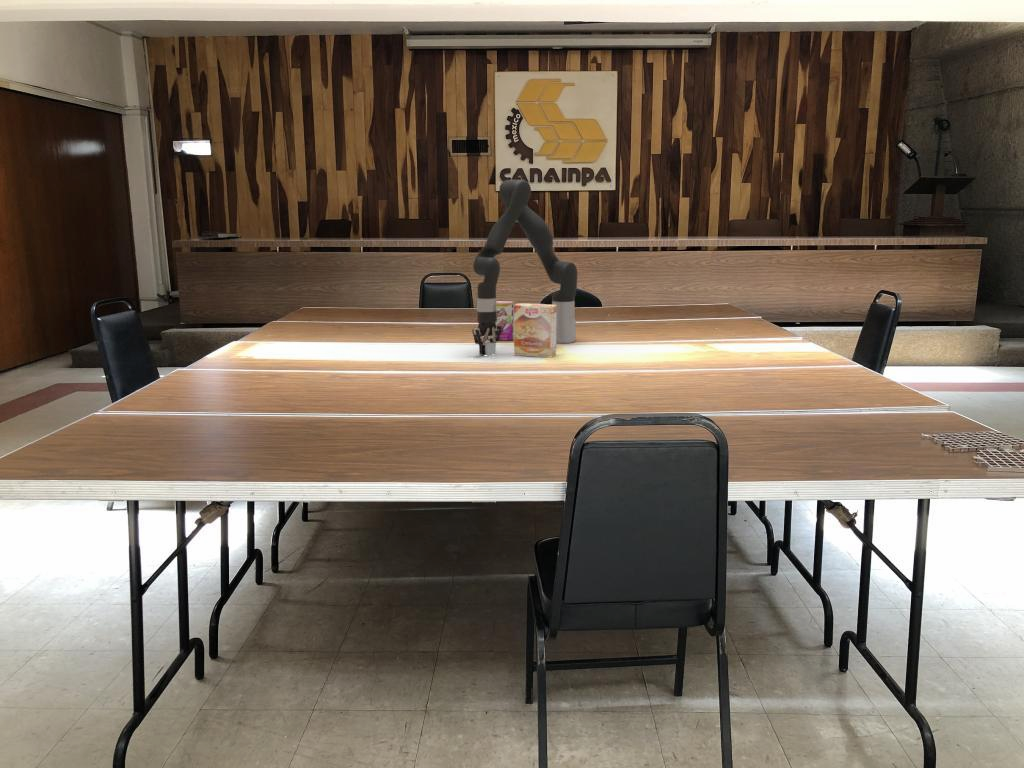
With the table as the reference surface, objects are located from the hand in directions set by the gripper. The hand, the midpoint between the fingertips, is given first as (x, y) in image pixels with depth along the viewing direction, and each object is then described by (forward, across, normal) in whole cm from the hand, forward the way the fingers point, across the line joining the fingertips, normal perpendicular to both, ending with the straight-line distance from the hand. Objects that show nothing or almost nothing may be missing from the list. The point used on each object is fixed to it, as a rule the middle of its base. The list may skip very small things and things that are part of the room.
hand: (487, 353), depth 328 cm
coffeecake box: (+1, -12, +14) cm, 18 cm away
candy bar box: (+1, -27, -20) cm, 34 cm away
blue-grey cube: (0, 0, 0) cm, 0 cm away
